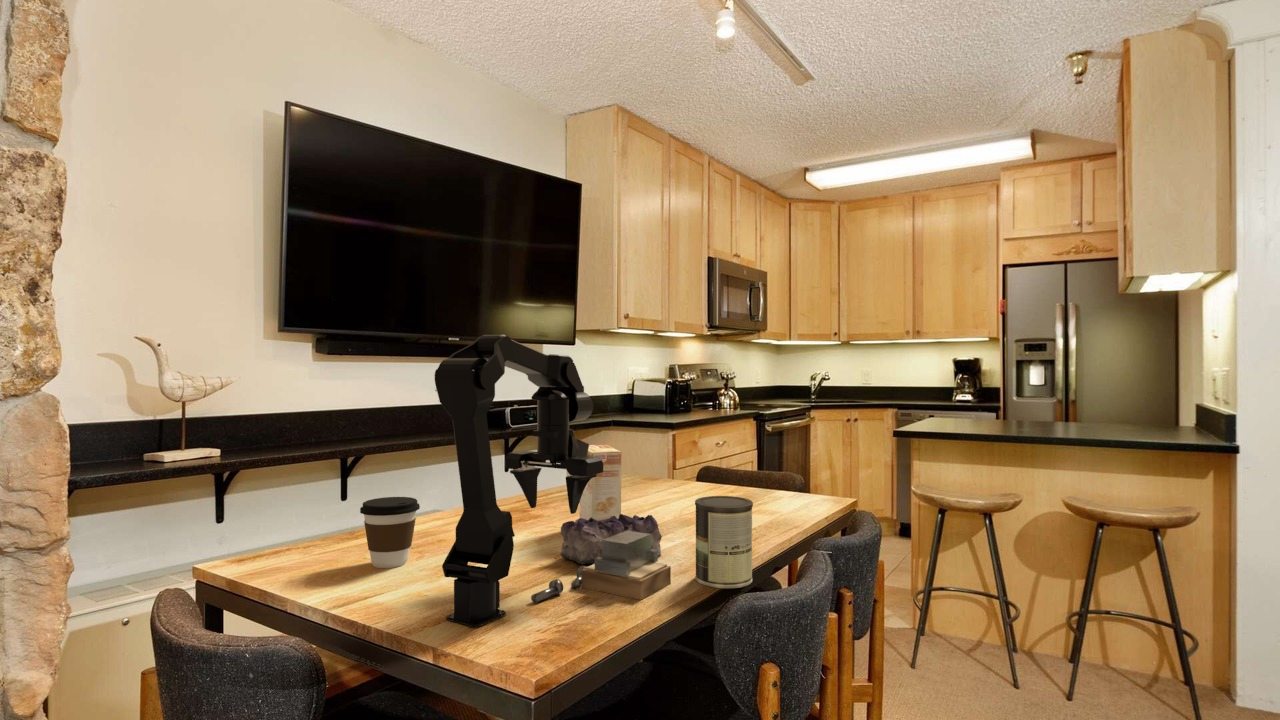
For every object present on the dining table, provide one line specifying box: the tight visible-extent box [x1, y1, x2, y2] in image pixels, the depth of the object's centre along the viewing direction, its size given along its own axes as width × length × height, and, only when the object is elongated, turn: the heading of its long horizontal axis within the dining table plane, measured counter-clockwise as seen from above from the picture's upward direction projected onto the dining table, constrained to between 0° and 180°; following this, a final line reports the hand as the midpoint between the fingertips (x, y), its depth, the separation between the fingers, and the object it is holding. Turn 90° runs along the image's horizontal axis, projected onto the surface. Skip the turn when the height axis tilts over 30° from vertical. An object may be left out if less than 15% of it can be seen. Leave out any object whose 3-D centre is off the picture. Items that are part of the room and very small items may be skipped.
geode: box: [560, 513, 663, 565], centre depth 136 cm, size 20×12×10 cm, turn 109°
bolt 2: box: [570, 565, 588, 590], centre depth 120 cm, size 6×2×2 cm, turn 169°
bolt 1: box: [530, 578, 564, 604], centre depth 113 cm, size 6×2×2 cm
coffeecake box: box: [578, 444, 622, 521], centre depth 158 cm, size 15×7×20 cm, turn 15°
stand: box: [581, 562, 672, 601], centre depth 119 cm, size 10×12×3 cm
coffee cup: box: [359, 496, 421, 569], centre depth 132 cm, size 11×11×12 cm
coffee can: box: [694, 495, 754, 589], centre depth 123 cm, size 10×10×14 cm
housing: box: [594, 531, 659, 576], centre depth 119 cm, size 10×6×5 cm, turn 149°
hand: (552, 510), depth 124 cm, fingers open, 9 cm apart
